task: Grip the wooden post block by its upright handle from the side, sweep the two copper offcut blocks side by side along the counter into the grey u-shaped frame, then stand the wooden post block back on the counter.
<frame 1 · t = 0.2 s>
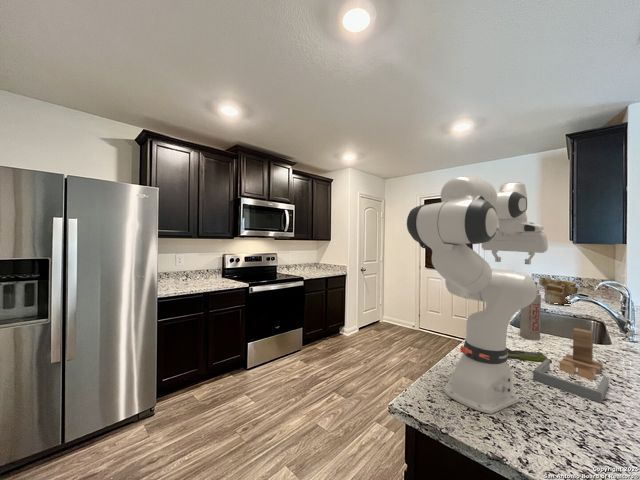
hand: (512, 262, 100), 40 cm above the countertop, tool pointing down, fingers open, 8 cm apart
offcut right: (586, 376, 95), on the countertop
wooden post block: (582, 366, 103), on the countertop
thermos bottle: (529, 337, 133), on the countertop
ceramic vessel: (560, 304, 207), on the countertop
offcut left: (567, 370, 99), on the countertop
grey u-shaped frame: (570, 382, 90), on the countertop
gun: (517, 355, 113), on the countertop
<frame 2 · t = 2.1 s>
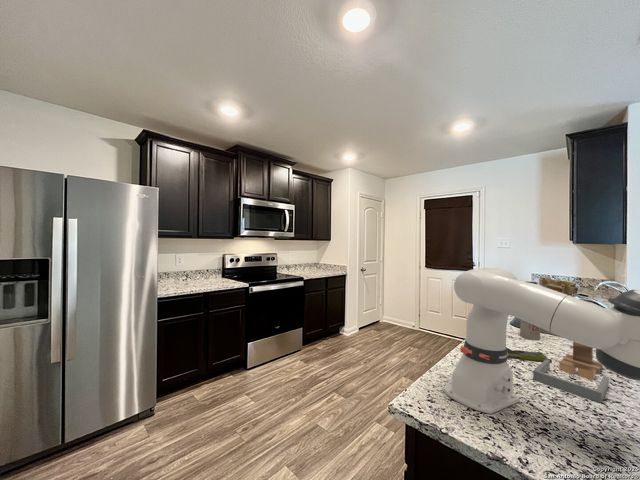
hand: (637, 319, 92), 22 cm above the countertop, tool horizontal, fingers open, 8 cm apart
nothing on the countertop moved.
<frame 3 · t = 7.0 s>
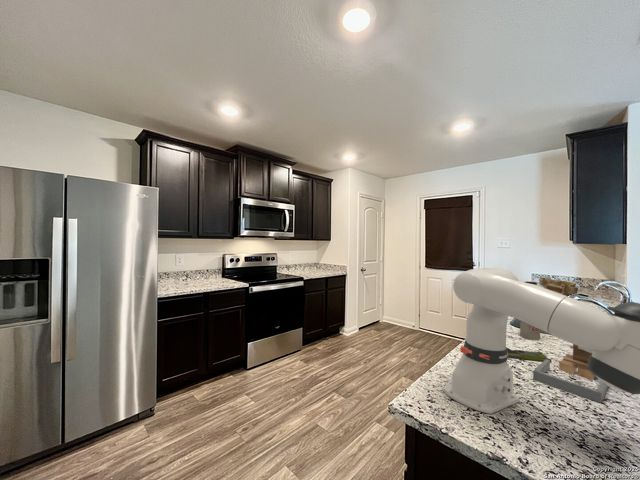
hand: (579, 344, 104), 8 cm above the countertop, tool horizontal, fingers closed on wooden post block, 3 cm apart
wooden post block: (582, 365, 103), on the countertop, touching gripper
everything else where it was.
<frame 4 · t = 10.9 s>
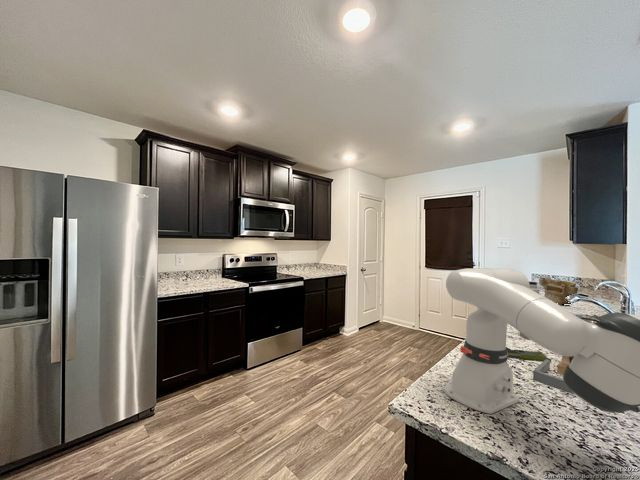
hand: (575, 349, 95), 9 cm above the countertop, tool horizontal, fingers closed on wooden post block, 6 cm apart
offcut right: (585, 380, 93), on the countertop
wooden post block: (580, 365, 98), point 2 cm above the countertop, tilted 40°, touching gripper, offcut left
offcut left: (565, 373, 97), on the countertop, touching wooden post block
everything else where it was.
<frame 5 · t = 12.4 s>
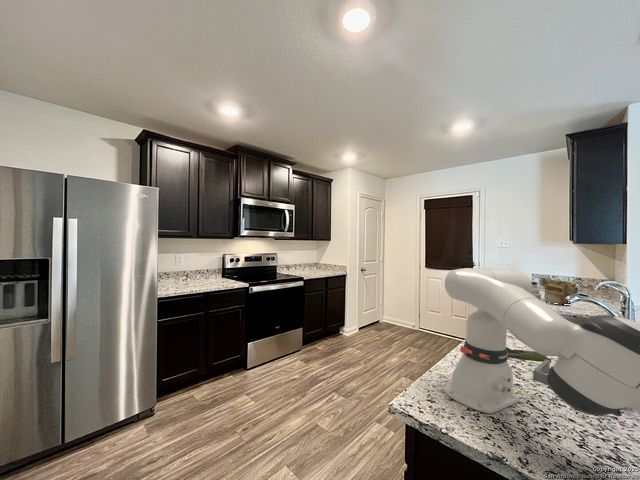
hand: (570, 351, 93), 9 cm above the countertop, tool horizontal, fingers closed on wooden post block, 6 cm apart
offcut right: (581, 383, 91), on the countertop
wooden post block: (576, 367, 96), point 3 cm above the countertop, tilted 43°, touching gripper, offcut left
offcut left: (561, 376, 95), on the countertop, touching wooden post block
everything else where it was.
when the fingers open (9 cm above the countertop, at t = 16.2 s): wooden post block stays where it is, on the countertop.
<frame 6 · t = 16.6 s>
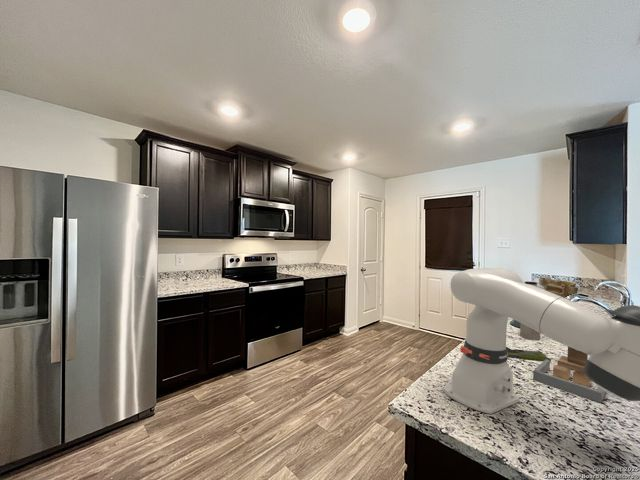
hand: (577, 344, 101), 9 cm above the countertop, tool horizontal, fingers open, 7 cm apart
wooden post block: (577, 368, 101), on the countertop
offcut left: (561, 376, 95), on the countertop
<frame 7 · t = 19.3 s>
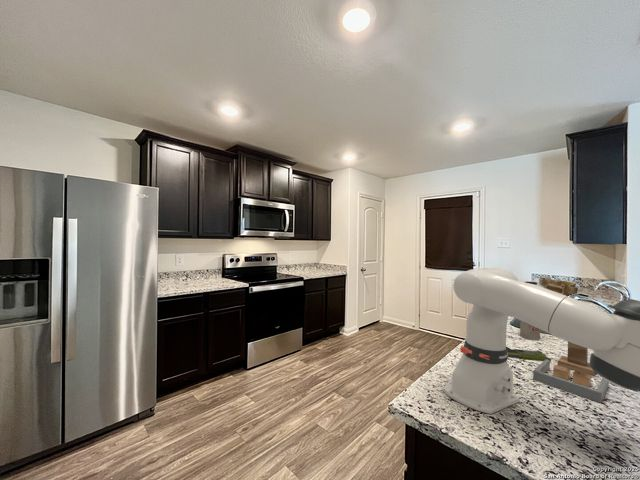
hand: (628, 356, 91), 9 cm above the countertop, tool horizontal, fingers open, 8 cm apart
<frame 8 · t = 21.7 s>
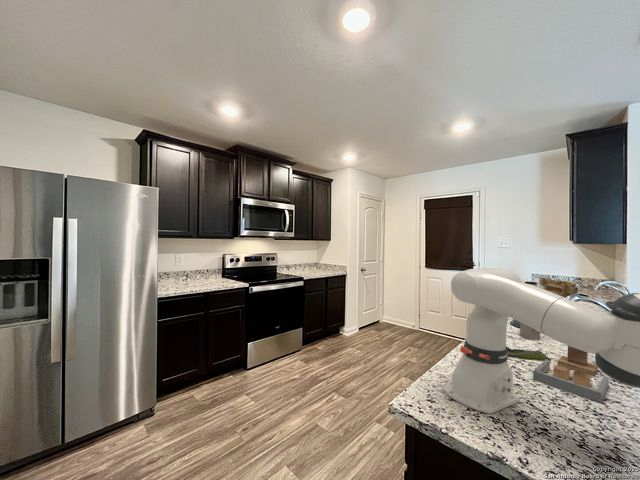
hand: (630, 310, 90), 25 cm above the countertop, tool horizontal, fingers open, 8 cm apart
at the end: offcut left inside the target area on the grey u-shaped frame (4.8 cm from its centre), point 0.0 cm above the grey u-shaped frame's base; offcut right inside the target area on the grey u-shaped frame (4.6 cm from its centre), point 0.0 cm above the grey u-shaped frame's base; wooden post block tilted 0° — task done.
